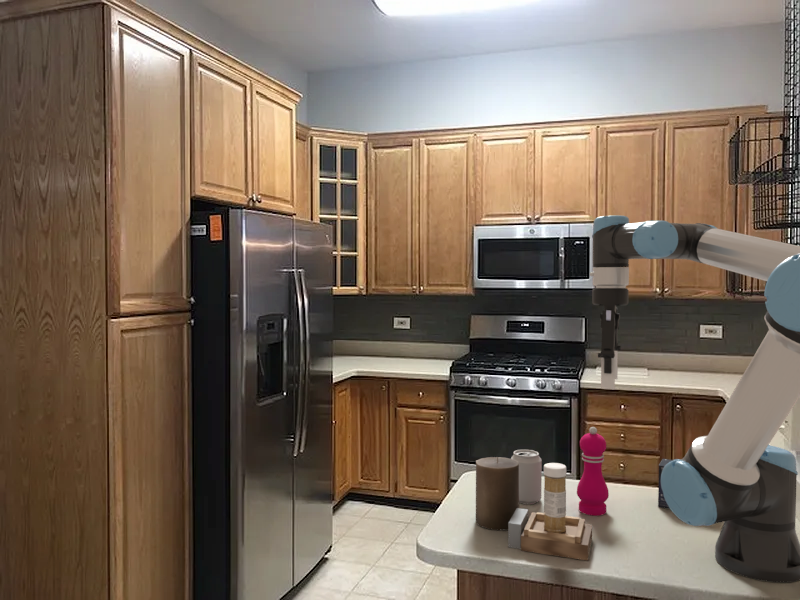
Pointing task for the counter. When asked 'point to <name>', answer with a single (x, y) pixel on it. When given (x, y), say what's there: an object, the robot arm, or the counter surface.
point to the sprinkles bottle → (555, 497)
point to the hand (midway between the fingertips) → (609, 383)
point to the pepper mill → (592, 475)
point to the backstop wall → (517, 527)
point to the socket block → (557, 538)
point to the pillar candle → (496, 492)
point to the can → (529, 475)
